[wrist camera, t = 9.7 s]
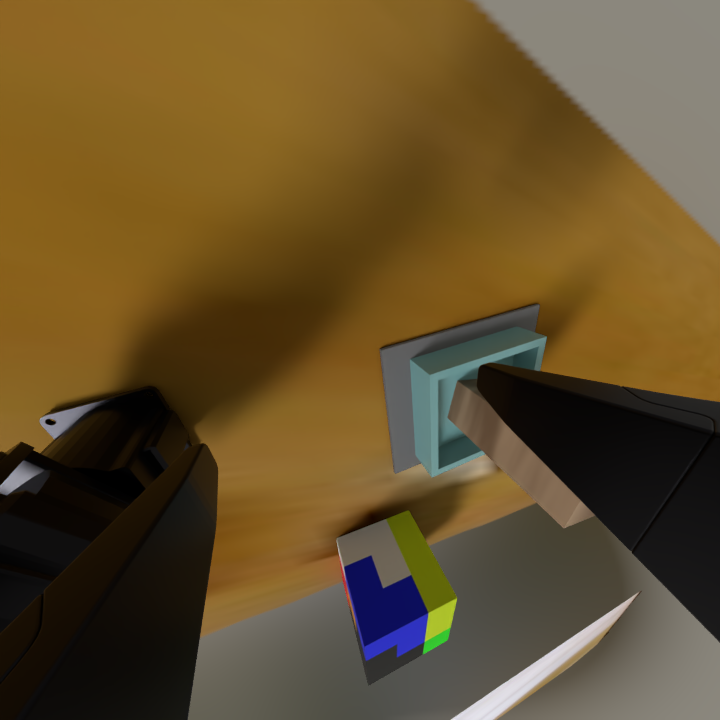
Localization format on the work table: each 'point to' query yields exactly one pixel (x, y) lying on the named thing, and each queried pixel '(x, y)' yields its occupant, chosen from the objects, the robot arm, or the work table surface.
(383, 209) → the work table surface
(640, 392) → the robot arm
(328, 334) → the work table surface
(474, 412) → the block
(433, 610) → the puzzle toy
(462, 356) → the dish
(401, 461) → the mat
